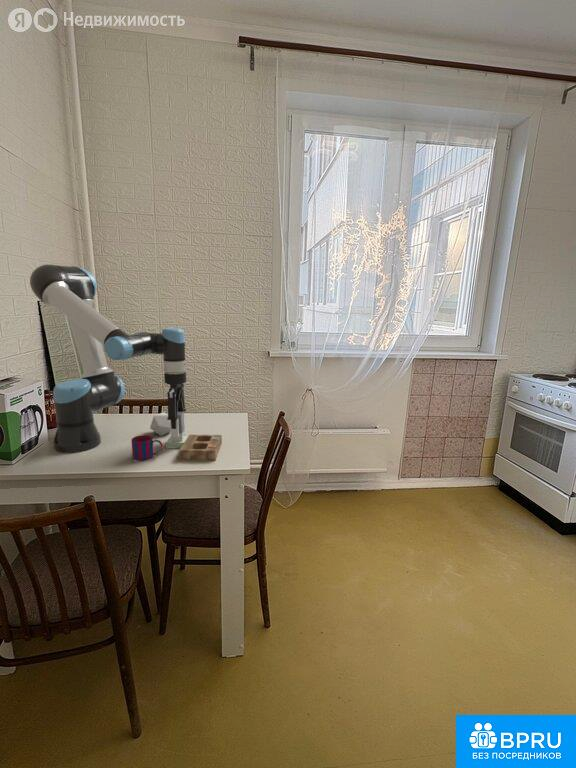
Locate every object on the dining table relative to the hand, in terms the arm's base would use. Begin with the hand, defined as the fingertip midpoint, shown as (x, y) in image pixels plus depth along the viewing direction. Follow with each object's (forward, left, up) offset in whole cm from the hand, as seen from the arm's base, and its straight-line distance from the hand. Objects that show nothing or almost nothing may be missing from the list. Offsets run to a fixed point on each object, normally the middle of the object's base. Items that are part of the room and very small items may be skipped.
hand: (177, 432), depth 141 cm
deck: (0, 0, -5) cm, 5 cm away
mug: (-7, -12, -5) cm, 15 cm away
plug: (0, 0, -3) cm, 3 cm away
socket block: (+10, -6, -5) cm, 13 cm away
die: (-9, +12, -5) cm, 15 cm away
